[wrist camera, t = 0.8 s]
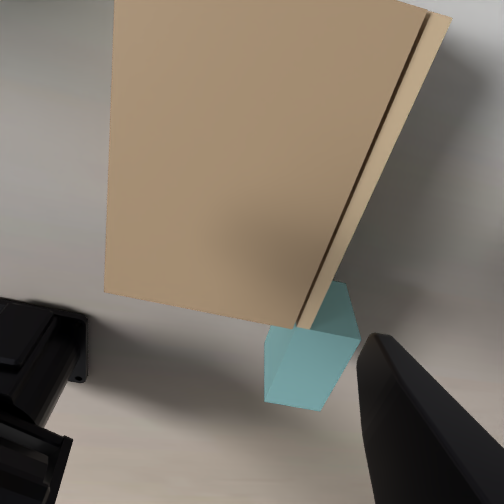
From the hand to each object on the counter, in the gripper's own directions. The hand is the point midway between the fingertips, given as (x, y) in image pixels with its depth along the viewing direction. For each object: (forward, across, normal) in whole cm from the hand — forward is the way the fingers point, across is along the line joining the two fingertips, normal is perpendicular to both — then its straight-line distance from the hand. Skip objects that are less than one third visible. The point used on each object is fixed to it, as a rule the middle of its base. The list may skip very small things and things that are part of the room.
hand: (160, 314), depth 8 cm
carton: (+12, -1, -1) cm, 12 cm away
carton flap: (+12, -7, +2) cm, 14 cm away
